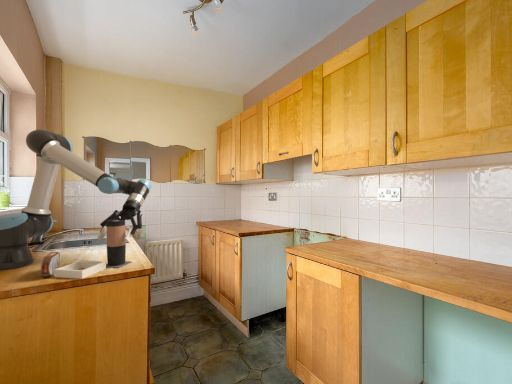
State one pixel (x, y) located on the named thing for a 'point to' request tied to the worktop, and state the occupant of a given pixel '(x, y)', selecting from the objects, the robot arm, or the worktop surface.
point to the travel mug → (116, 242)
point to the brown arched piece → (50, 264)
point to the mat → (118, 265)
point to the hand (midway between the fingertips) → (112, 239)
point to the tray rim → (72, 271)
